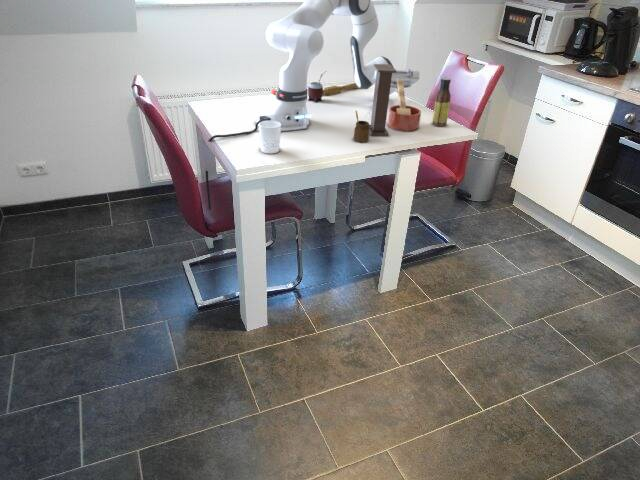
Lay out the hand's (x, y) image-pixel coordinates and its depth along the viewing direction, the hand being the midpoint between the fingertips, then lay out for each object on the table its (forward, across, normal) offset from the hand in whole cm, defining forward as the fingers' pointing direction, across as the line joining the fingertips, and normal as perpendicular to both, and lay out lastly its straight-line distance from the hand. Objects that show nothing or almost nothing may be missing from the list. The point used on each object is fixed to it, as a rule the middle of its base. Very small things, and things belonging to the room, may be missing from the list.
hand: (400, 70), depth 212 cm
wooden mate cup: (+18, -21, +33) cm, 43 cm away
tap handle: (-41, -20, -1) cm, 45 cm away
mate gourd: (-26, -35, +8) cm, 44 cm away
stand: (+10, -13, +28) cm, 32 cm away
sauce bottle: (+1, +17, +23) cm, 29 cm away
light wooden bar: (+1, 0, +14) cm, 14 cm away
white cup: (+28, -57, +39) cm, 75 cm away
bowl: (+3, 0, +24) cm, 25 cm away
